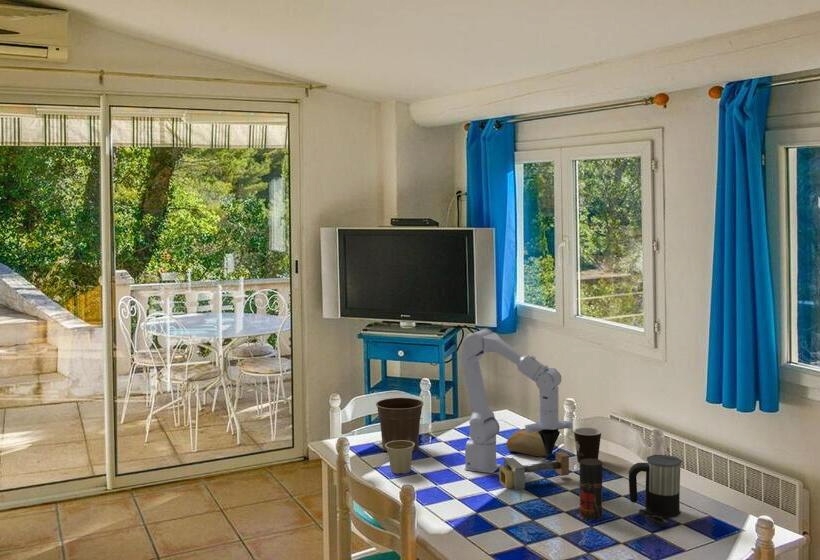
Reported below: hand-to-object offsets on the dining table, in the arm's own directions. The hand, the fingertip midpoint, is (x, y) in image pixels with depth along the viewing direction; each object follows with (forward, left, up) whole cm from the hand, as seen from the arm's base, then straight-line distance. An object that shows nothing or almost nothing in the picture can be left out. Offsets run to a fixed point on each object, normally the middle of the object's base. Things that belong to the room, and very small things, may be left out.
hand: (548, 453), depth 261 cm
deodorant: (+18, -23, -8) cm, 31 cm away
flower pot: (-46, -9, -9) cm, 47 cm away
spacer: (-11, -9, -8) cm, 16 cm away
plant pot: (-56, +12, -9) cm, 57 cm away
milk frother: (+36, -18, -9) cm, 41 cm away
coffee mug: (+6, +23, -9) cm, 25 cm away
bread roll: (-14, +23, -9) cm, 28 cm away
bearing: (-9, -7, -8) cm, 14 cm away
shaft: (-2, -2, -7) cm, 7 cm away
